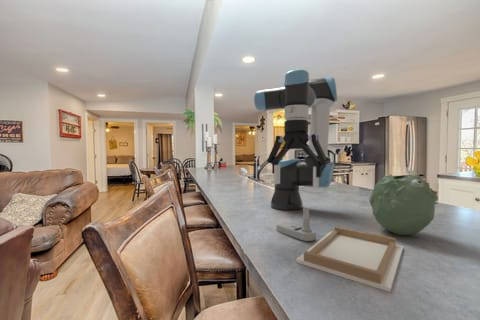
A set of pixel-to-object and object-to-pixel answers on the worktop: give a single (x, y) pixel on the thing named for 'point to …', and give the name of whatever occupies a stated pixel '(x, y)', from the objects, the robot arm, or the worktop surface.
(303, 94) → the robot arm
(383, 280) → the wooden framed canvas
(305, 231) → the electronic device
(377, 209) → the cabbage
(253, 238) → the worktop surface
